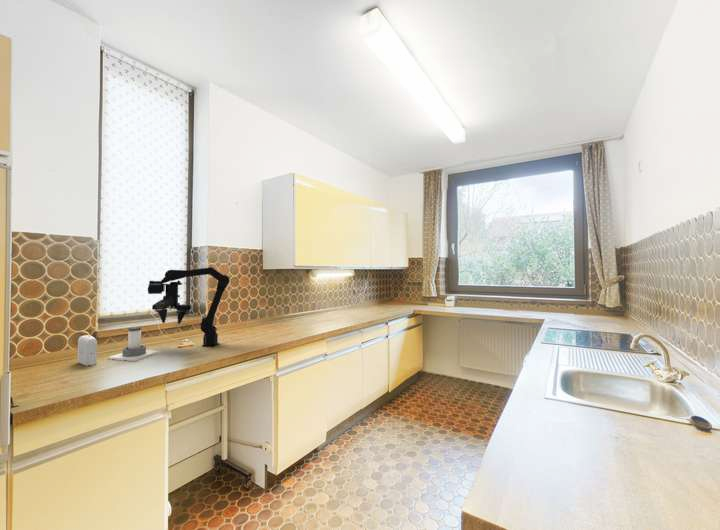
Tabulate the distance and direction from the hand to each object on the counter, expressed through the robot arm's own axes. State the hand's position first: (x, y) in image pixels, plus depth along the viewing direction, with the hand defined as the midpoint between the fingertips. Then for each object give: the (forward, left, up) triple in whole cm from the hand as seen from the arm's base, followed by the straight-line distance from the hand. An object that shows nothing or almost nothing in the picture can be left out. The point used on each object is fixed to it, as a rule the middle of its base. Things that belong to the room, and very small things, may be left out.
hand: (171, 323), depth 166 cm
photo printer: (+16, +30, -13) cm, 37 cm away
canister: (+6, +16, -12) cm, 21 cm away
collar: (+6, +16, -13) cm, 21 cm away
